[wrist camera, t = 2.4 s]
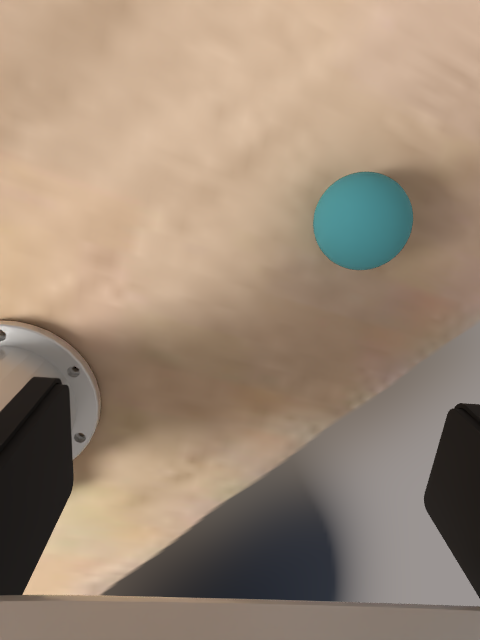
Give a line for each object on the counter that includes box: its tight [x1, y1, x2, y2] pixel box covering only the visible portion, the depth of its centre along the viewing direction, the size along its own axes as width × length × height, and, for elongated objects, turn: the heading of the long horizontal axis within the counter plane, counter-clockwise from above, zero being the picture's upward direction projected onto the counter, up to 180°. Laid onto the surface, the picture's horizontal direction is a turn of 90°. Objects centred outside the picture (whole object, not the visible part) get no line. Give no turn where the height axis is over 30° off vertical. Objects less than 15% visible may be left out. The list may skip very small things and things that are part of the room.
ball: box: [313, 172, 413, 270], centre depth 27 cm, size 6×6×6 cm
